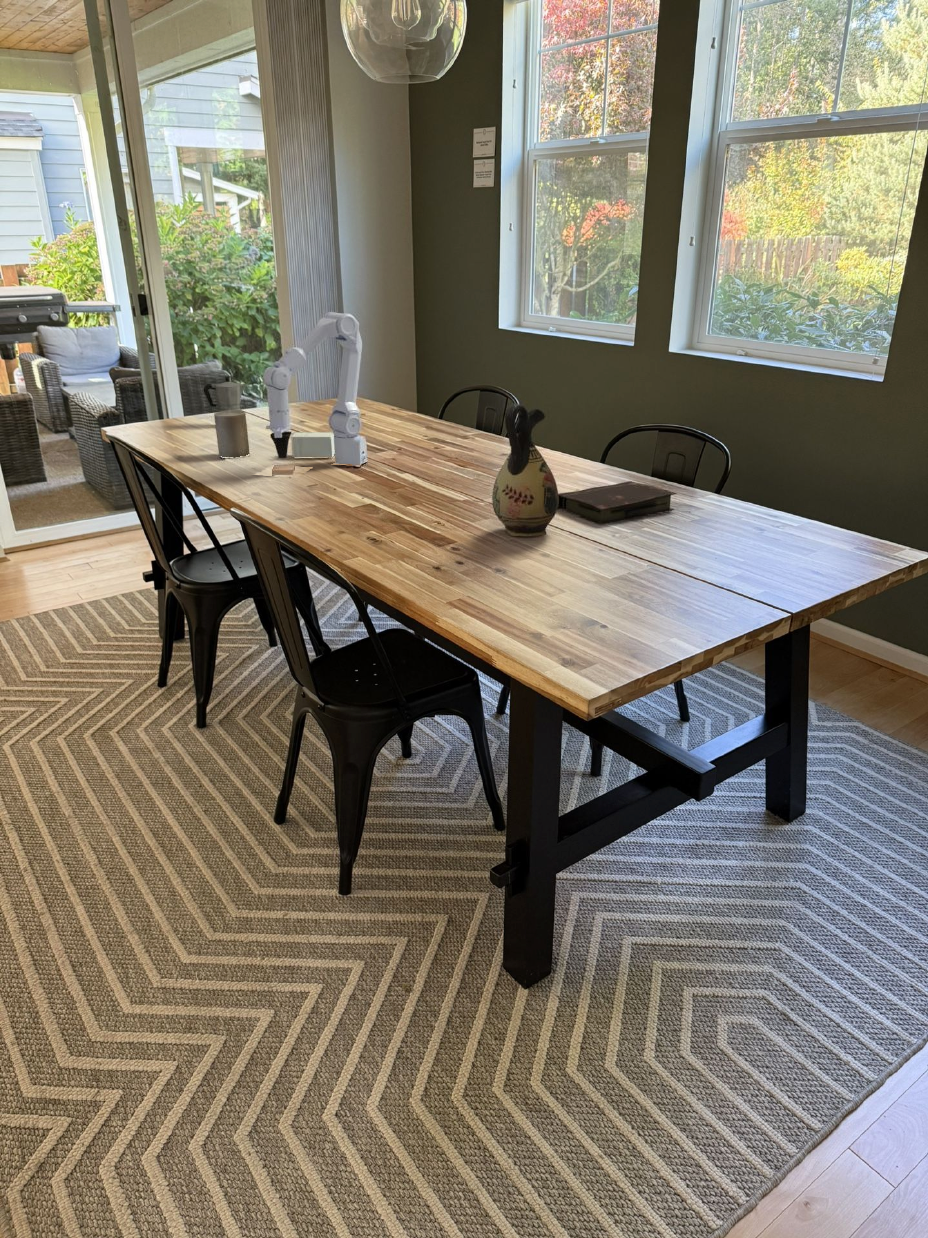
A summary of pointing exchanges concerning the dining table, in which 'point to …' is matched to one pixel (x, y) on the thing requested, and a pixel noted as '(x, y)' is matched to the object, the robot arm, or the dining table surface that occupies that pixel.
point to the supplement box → (313, 445)
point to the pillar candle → (232, 433)
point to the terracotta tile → (283, 470)
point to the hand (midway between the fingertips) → (282, 457)
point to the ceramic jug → (524, 479)
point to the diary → (616, 502)
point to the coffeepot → (226, 394)
